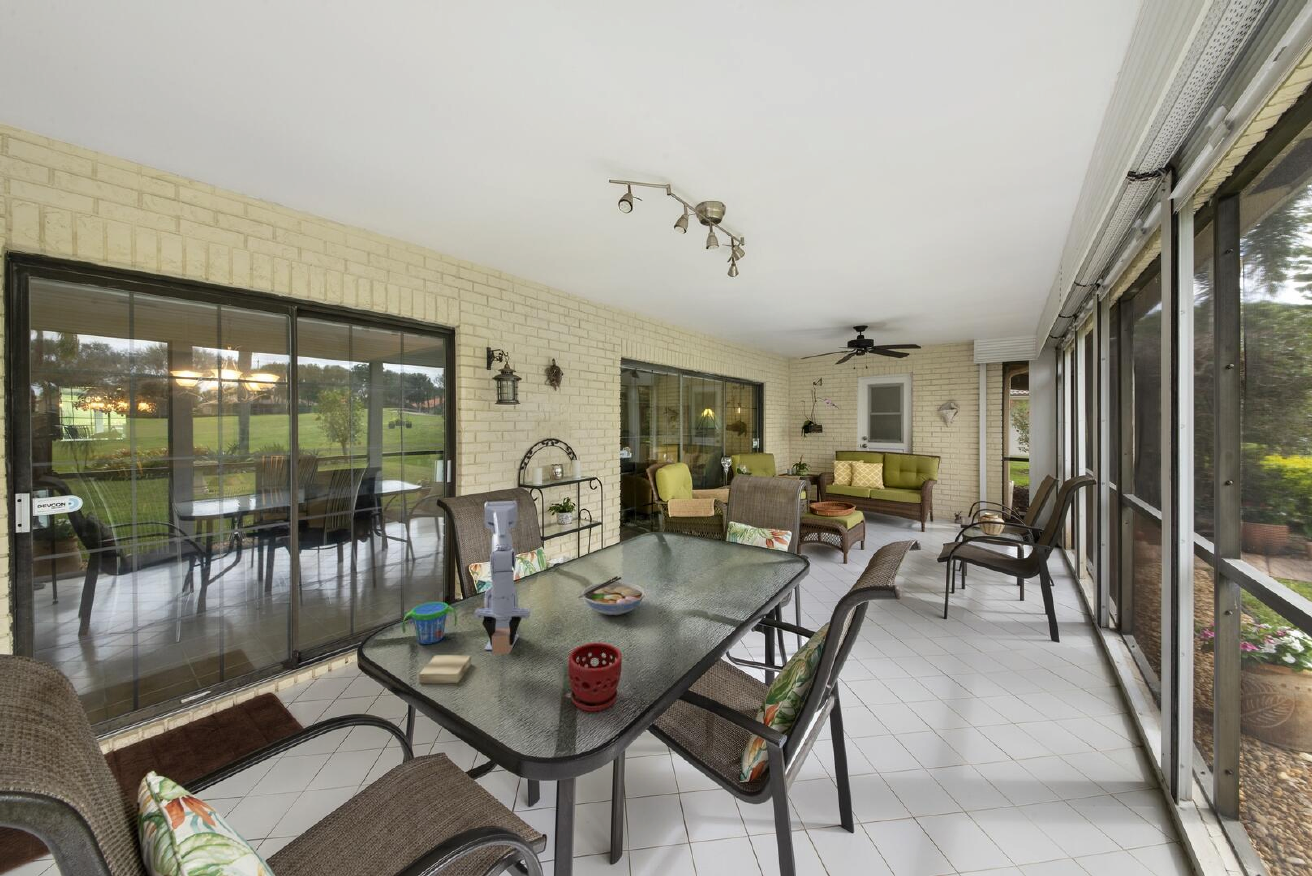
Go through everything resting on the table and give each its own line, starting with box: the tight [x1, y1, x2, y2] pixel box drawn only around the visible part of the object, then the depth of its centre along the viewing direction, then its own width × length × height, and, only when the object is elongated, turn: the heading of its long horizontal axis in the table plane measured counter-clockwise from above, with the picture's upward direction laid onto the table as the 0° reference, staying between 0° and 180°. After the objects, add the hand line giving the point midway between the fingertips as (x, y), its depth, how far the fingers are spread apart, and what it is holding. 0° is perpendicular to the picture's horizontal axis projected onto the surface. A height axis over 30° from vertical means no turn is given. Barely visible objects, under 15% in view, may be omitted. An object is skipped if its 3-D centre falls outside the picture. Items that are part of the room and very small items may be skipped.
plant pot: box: [568, 642, 623, 712], centre depth 122 cm, size 13×13×12 cm
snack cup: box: [401, 601, 458, 645], centre depth 154 cm, size 16×10×10 cm
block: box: [491, 629, 514, 655], centre depth 134 cm, size 4×4×5 cm
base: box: [418, 654, 472, 684], centre depth 134 cm, size 10×10×2 cm
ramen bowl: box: [577, 575, 646, 616], centre depth 178 cm, size 25×23×8 cm
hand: (502, 643), depth 134 cm, fingers closed on block, 4 cm apart
